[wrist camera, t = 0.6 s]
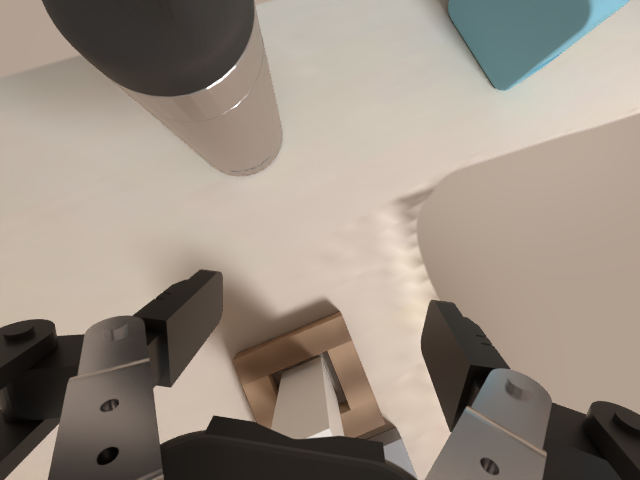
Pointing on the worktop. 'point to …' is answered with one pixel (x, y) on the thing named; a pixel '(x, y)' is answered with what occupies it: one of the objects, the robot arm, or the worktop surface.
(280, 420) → the plug
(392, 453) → the port plate
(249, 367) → the brown square frame
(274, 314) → the worktop surface
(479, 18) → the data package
